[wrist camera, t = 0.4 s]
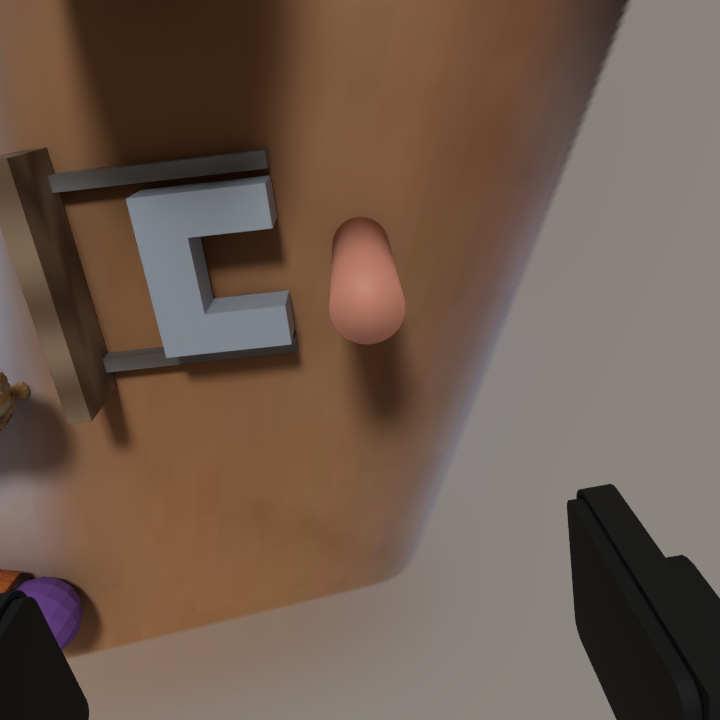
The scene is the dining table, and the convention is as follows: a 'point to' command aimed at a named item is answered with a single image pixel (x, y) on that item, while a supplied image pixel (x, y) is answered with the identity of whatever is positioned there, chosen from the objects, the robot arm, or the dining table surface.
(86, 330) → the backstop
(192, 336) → the block
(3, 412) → the lion figurine
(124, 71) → the dining table surface
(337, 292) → the dowel
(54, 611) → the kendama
